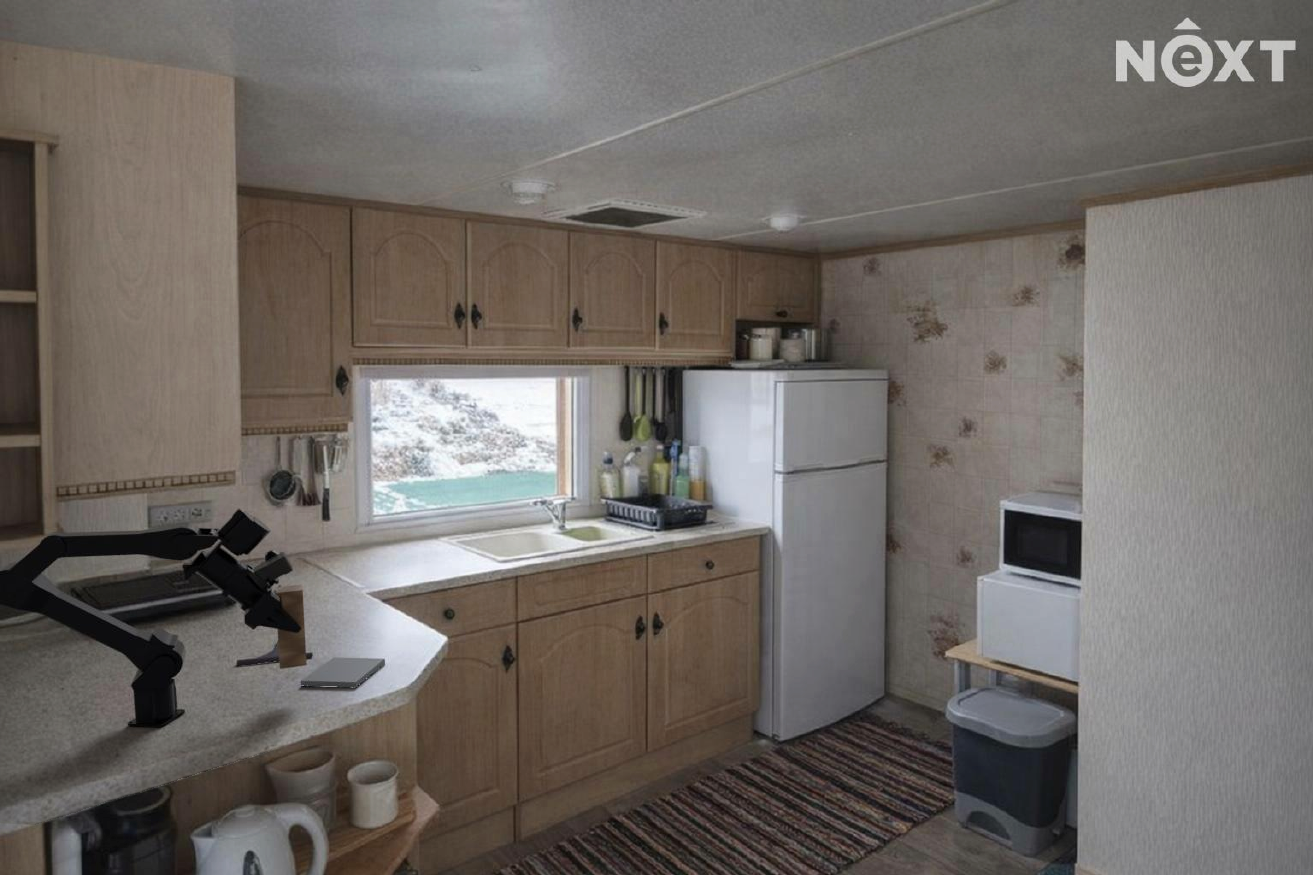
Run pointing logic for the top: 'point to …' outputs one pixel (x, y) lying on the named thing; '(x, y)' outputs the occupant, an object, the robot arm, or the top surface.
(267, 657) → the squeegee
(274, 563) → the robot arm
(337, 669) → the far plate
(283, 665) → the walnut block
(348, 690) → the top surface
